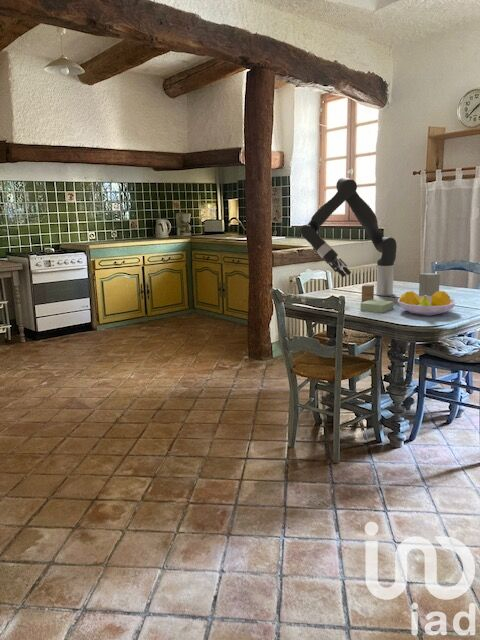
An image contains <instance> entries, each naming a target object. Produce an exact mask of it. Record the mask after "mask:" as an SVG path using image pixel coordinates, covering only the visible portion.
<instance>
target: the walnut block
mask: <svg viewBox="0 0 480 640" xmlns="http://www.w3.org/2000/svg"><path fill="white" fill-rule="evenodd" d="M374 292H375V285H374V284H363V285H362V286H361V303H362V302H365V301H368V300H371V299H374V300H375V297H374V295H375V293H374Z"/></svg>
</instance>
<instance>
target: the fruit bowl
mask: <svg viewBox="0 0 480 640" xmlns="http://www.w3.org/2000/svg"><path fill="white" fill-rule="evenodd" d="M397 303H398V304H399V306H400V308H401V309H403V310H405V311H407V312H408V313H409V314H412V315H421V316H429V317H430V316H434V315H435V316H436V315H439V314H444V313H447V312H448V311H450V310H452V309H453V308H454V306H455V305H456V300H454V299H451V297H450V295H449V294H448V293H447V292H446V291H445V290H439V291H436V292H435V293H434V294H433V295H432V296H426V295H424V296H419V294H417V293H416V292H414V291H413V290H410V291H406V292H404V293H403V294H401V296H400V297H399V298H398V300H397Z"/></svg>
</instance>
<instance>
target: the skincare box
mask: <svg viewBox="0 0 480 640" xmlns="http://www.w3.org/2000/svg"><path fill="white" fill-rule="evenodd" d="M440 278H441V274H440V273H434V272H431V273H430V272H429V273H428V272H427V273H419V288H418V295H419V296H424V295H426V296H432V295H433V294H434V293H435V292H436V291H440V280H441V279H440Z"/></svg>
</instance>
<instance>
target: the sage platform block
mask: <svg viewBox="0 0 480 640" xmlns="http://www.w3.org/2000/svg"><path fill="white" fill-rule="evenodd" d="M392 309H394V301H391V300H383V299H381V300H380V299H375V298H374V299H371V300H368V301H365V302H362V301H361V302H360V311H365V312H375V313H386V312H388V311H390V310H392Z"/></svg>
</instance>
